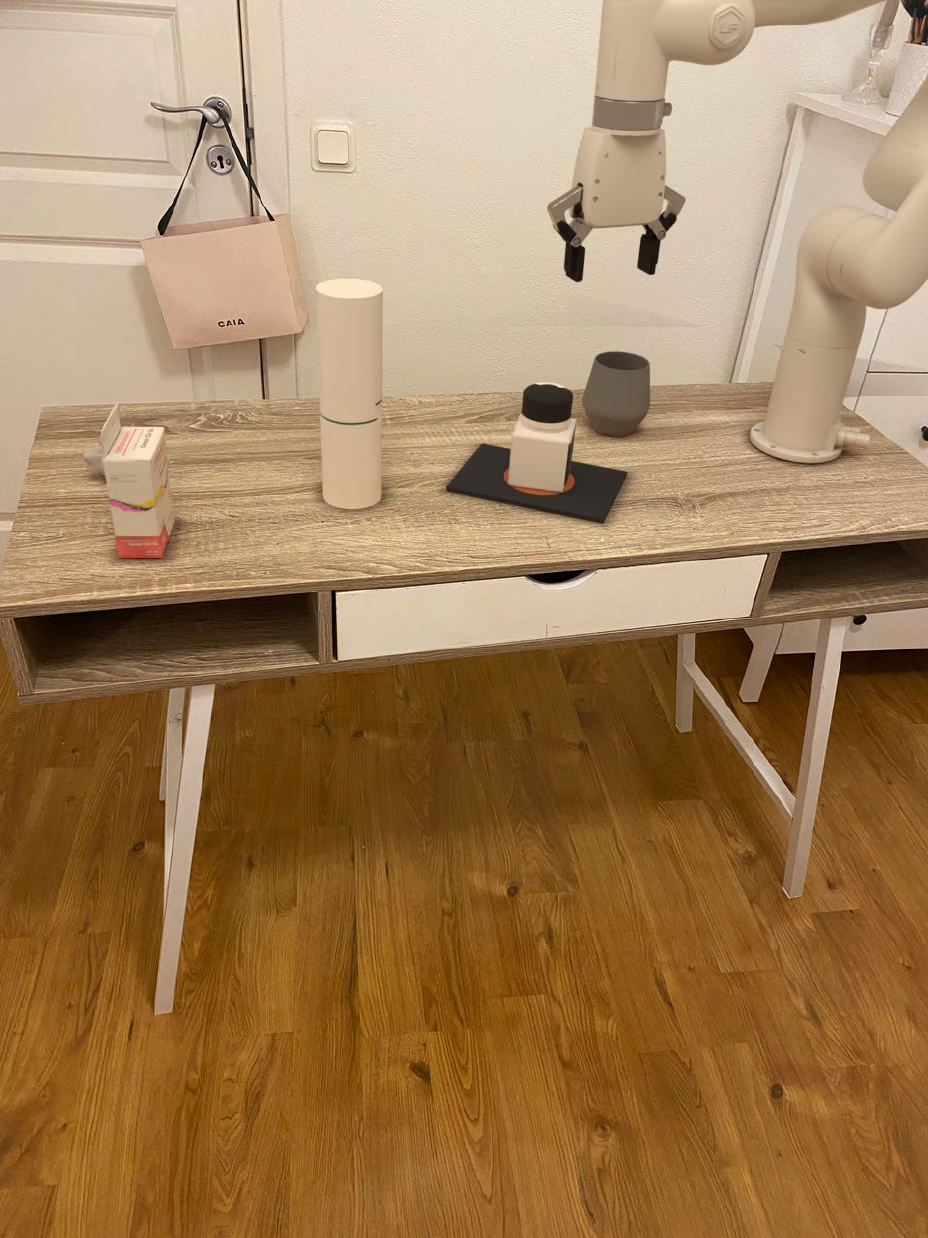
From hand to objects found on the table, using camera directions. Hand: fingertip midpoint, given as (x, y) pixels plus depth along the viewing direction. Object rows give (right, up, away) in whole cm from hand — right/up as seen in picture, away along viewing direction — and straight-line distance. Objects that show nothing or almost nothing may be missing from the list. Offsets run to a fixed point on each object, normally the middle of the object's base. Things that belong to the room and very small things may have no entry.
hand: (610, 275), depth 118 cm
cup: (+4, -14, +24) cm, 28 cm away
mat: (-8, -24, +9) cm, 26 cm away
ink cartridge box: (-52, -32, -8) cm, 62 cm away
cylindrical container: (-31, -26, +3) cm, 41 cm away
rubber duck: (-60, -24, +4) cm, 65 cm away
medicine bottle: (-8, -23, +8) cm, 26 cm away
